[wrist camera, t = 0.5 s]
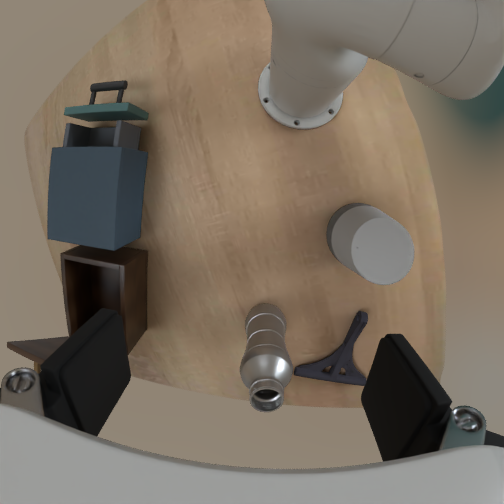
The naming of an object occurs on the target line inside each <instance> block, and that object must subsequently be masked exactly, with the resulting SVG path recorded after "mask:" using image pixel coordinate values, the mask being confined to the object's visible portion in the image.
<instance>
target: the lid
mask: <svg viewBox="0 0 504 504" xmlns="http://www.w3.org/2000/svg"><path fill="white" fill-rule="evenodd" d="M68 338H69V337H68V336H67V337H58V338H48V339H37V340H25V341H14V342H13V341H12V342H7V347H8V348H9V349H11V350H13V351H14V352H16V353H18V354H20V355H22V356H24V357H26V358H28V359H30V360H32V361H34V370H35V371H36V372H37V373H38V374H39V373H40V372H41V368H40V365H41V364H42V363H43V362H44V361H45V360H46V359H47V358H48V357H49V356H50V355H51V354H53V353H54V352H55V351H56V350H57V349H58V348H59V347H60V346H61V345H62V344H63V343H64V342H65V341H66V340H67V339H68Z"/></svg>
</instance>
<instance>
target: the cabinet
mask: <svg viewBox="0 0 504 504" xmlns="http://www.w3.org/2000/svg"><path fill="white" fill-rule="evenodd" d="M147 158H148V152H144V151H139V150H135V149H130V148H125V147H57V148H52V155H51V164H50V175H49V190H48V239H51V240H56V241H62V242H67V243H73V244H78V245H84V246H90V247H95V248H101V249H107V250H113V251H115V250H117V249H119V248H121V247H123V246H124V245H126V244H128V243H130V242H132V241H134V240H136V239H138V238H140V232H141V217H142V204H143V193H144V183H145V174H146V166H147Z"/></svg>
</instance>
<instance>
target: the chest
mask: <svg viewBox="0 0 504 504" xmlns="http://www.w3.org/2000/svg"><path fill="white" fill-rule="evenodd" d="M147 262H148V250H141V249H135V248H129V247H121V248H119V249H117V250H115V251H113V250H107V249H101V248H95V247H90V246H84V245H79V246H77V247H74V248H72V249H70V250H67V251H65V252H63V253H61V271H62V284H63V294H64V304H65V312H66V319H67V325H68V332H69V337H71V336H72V335H73V334H74V333H75V332H76V331H77V330H78V329H79V328H80V327H81V326H83V325H84V324H85V323H86V322H87V321H88V320H89V319H90V318H91V317H92V316H94V315H95V314H96V313H97V312H98V311H99V310H100V309H102V308H105V309H110V310H116V311H117V312H118V314H119V315H121V316H122V320H123V327H124V335H125V342H126V349H127V355H129V353H130V352H131V350H132V349H133V348H134V346H135V345H136V344H137V342H138V341H139V339H140V338H141V337H142V335H143V334H144V333H145V331H146V330H147Z"/></svg>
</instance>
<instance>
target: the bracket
mask: <svg viewBox="0 0 504 504" xmlns="http://www.w3.org/2000/svg"><path fill="white" fill-rule="evenodd" d="M367 321H368V314H367V313H366V312H362V311H358V312H357V314H356V316H355V318H354V320H353V323H352V325H351V327H350V329H349V331H348V334H347V336H346V338H345V340H344V342H343V344H342V345H341V346H340V347H339V348H338V350H336V351H335V352H334V353H333V354H332V355H330V356H329V357H327V358H325V359H323V360H321V361H318V362H315V363H312V364H307V365H301V366H300V367H295V370H294V375H296V376H301V377H307V378H312V379H318V380H325V381H331V382H338V383H345V384H352V385H360V386H365V384H366V378H365V376H364V375H362V374H361V373H360V372H359V371H358V370H357V369H356V368H355V366H354V364H353V361H352V351H353V345H354V343H355V341H356V339H357V338H358V336H359V335H360V333H361V332H362V330H363V329H364V327H365V326H366V324H367ZM328 366H332V367H331V369H330V371H329V372H323V371H322V370H323V369H325V368H326V367H328ZM342 367H343V368H344V369H345V370H346V372H345V375H342V374H339V372H340V370H341V368H342Z"/></svg>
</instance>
